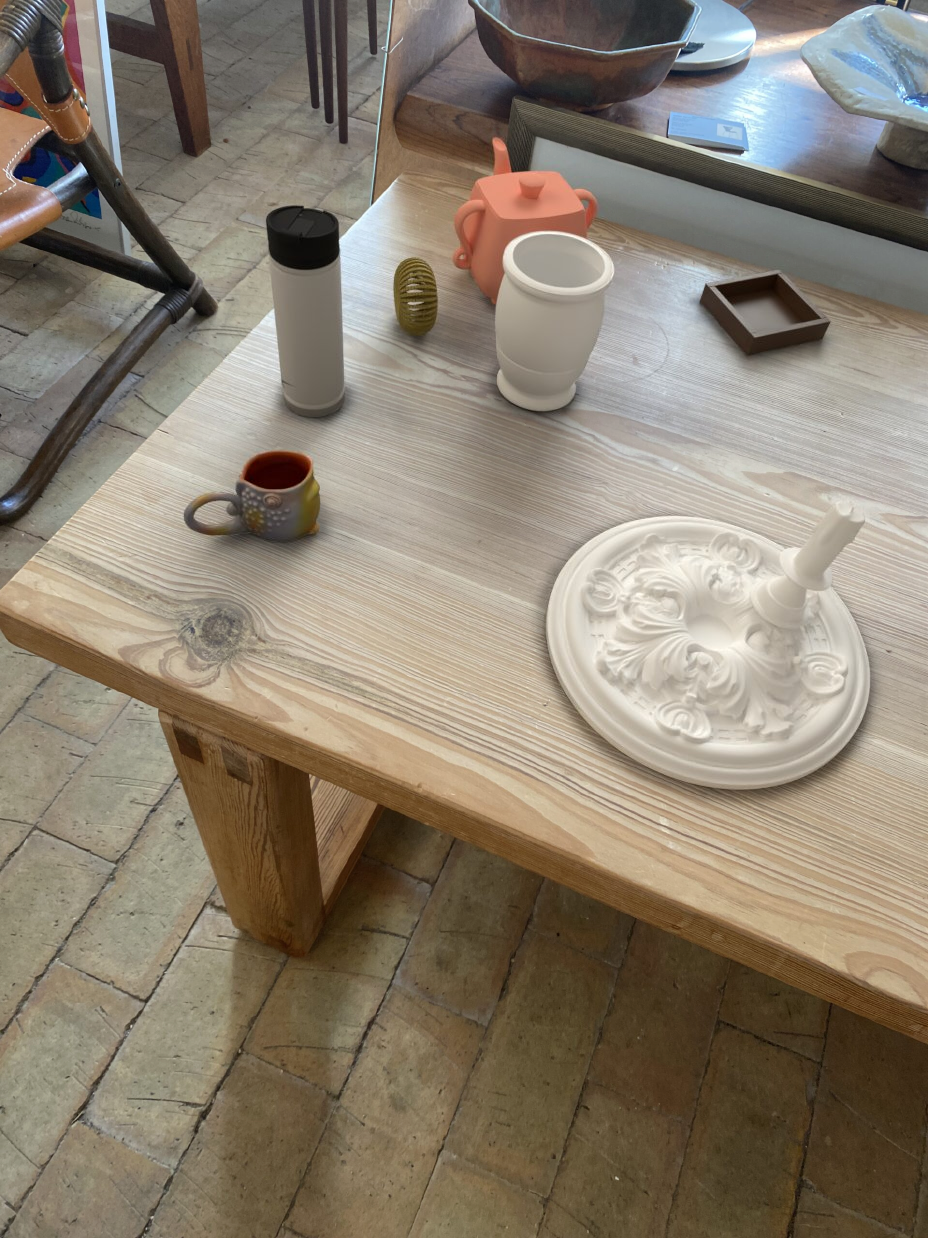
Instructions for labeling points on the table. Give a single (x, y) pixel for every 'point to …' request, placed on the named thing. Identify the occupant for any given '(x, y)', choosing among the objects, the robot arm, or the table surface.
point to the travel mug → (307, 307)
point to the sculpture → (415, 296)
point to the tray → (764, 312)
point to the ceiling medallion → (703, 655)
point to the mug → (267, 499)
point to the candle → (806, 568)
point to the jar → (548, 316)
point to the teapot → (514, 216)
